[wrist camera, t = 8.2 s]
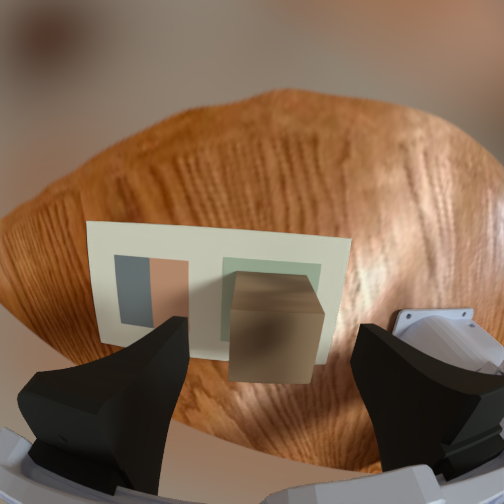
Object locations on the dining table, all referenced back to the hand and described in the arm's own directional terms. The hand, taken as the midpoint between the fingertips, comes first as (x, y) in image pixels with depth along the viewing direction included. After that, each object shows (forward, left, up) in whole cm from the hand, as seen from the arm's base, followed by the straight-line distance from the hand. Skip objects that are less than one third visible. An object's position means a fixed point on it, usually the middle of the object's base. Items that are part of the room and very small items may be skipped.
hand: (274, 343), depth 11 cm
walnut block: (-1, +3, -10) cm, 10 cm away
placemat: (+4, +3, -10) cm, 11 cm away
